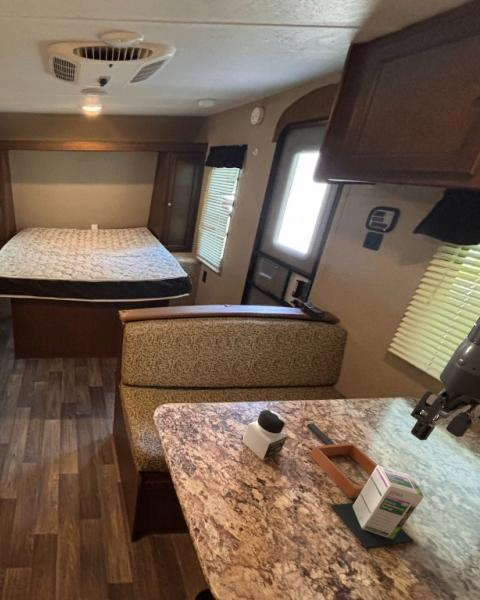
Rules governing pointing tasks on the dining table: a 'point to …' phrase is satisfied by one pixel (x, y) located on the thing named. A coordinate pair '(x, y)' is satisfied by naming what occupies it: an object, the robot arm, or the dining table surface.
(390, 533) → the syrup box
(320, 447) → the pan
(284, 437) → the medicine bottle
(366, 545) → the mat
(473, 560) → the dining table surface
